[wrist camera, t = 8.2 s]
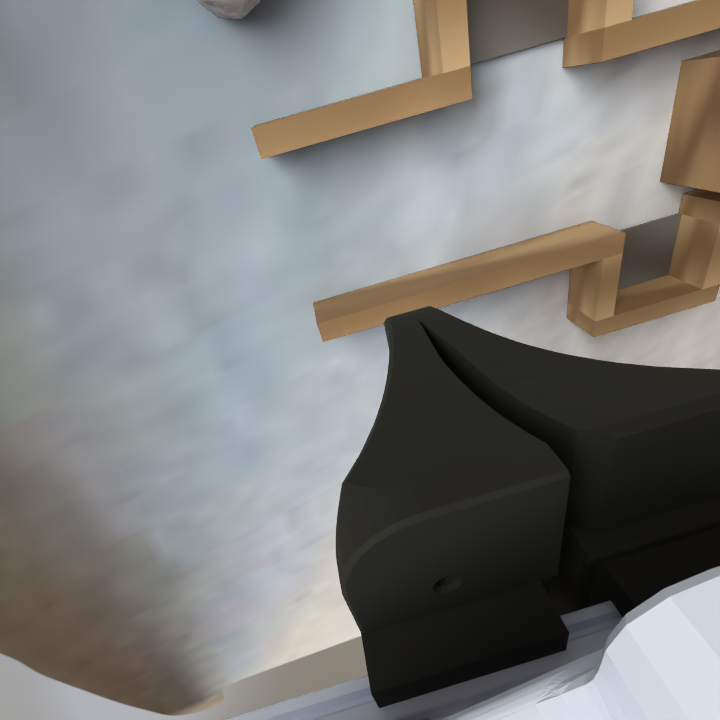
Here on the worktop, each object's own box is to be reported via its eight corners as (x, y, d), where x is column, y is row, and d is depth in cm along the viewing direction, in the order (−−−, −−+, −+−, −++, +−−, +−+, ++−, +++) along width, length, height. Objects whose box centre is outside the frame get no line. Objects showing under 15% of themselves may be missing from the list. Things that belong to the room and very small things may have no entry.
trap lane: (772, 256, 24) (817, 269, 22) (340, 385, 23) (346, 411, 21) (960, -256, 14) (1079, -320, 12) (197, -47, 13) (182, -75, 11)
